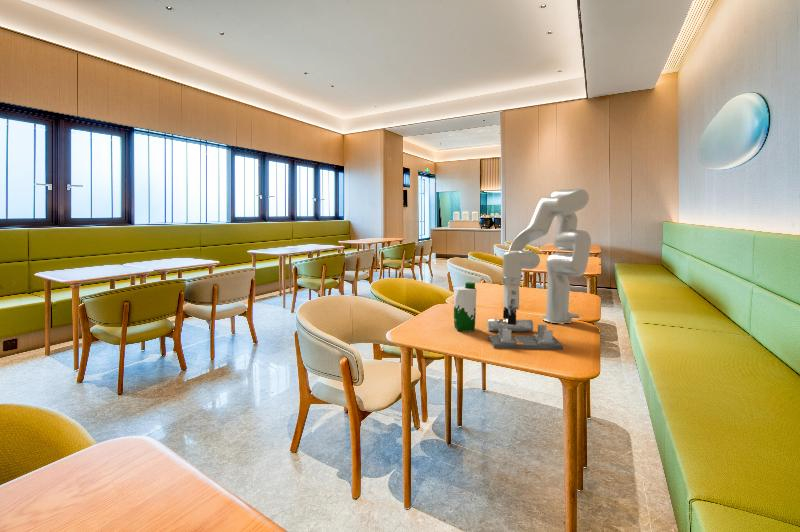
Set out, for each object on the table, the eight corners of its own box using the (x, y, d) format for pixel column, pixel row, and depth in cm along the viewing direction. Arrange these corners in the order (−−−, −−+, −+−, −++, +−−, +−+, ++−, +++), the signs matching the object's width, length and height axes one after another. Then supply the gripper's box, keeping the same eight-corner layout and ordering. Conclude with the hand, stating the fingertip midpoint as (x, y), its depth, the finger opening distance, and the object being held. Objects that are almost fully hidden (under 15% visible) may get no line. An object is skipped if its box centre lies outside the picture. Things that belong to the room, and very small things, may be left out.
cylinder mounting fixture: (552, 339, 160) (553, 323, 160) (563, 349, 148) (564, 332, 148) (488, 338, 162) (489, 322, 161) (493, 348, 150) (494, 331, 149)
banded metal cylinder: (530, 330, 174) (530, 318, 174) (533, 332, 169) (533, 321, 169) (487, 329, 175) (487, 317, 175) (489, 332, 170) (489, 320, 170)
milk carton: (477, 331, 171) (478, 284, 169) (456, 332, 171) (457, 285, 168) (471, 326, 180) (473, 281, 178) (451, 326, 179) (452, 281, 177)
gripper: (525, 284, 161) (523, 327, 162) (515, 278, 178) (513, 317, 180) (506, 284, 161) (504, 326, 163) (498, 278, 178) (496, 316, 180)
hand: (509, 321), depth 171 cm, fingers open, 9 cm apart
